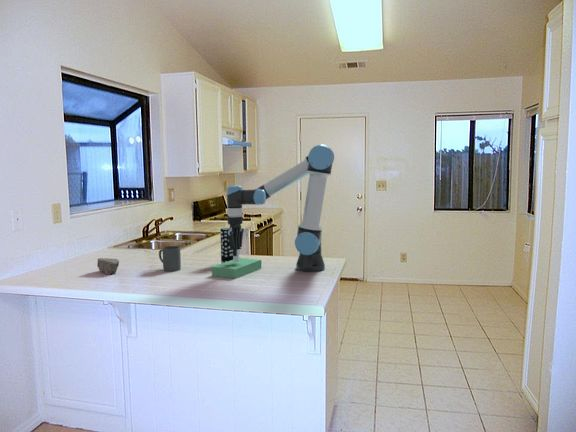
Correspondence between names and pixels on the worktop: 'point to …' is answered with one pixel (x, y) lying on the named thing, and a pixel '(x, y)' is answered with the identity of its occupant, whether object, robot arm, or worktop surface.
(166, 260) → the mug
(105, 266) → the stone
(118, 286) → the worktop surface
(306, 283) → the worktop surface
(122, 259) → the worktop surface
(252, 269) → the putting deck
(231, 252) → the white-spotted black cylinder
